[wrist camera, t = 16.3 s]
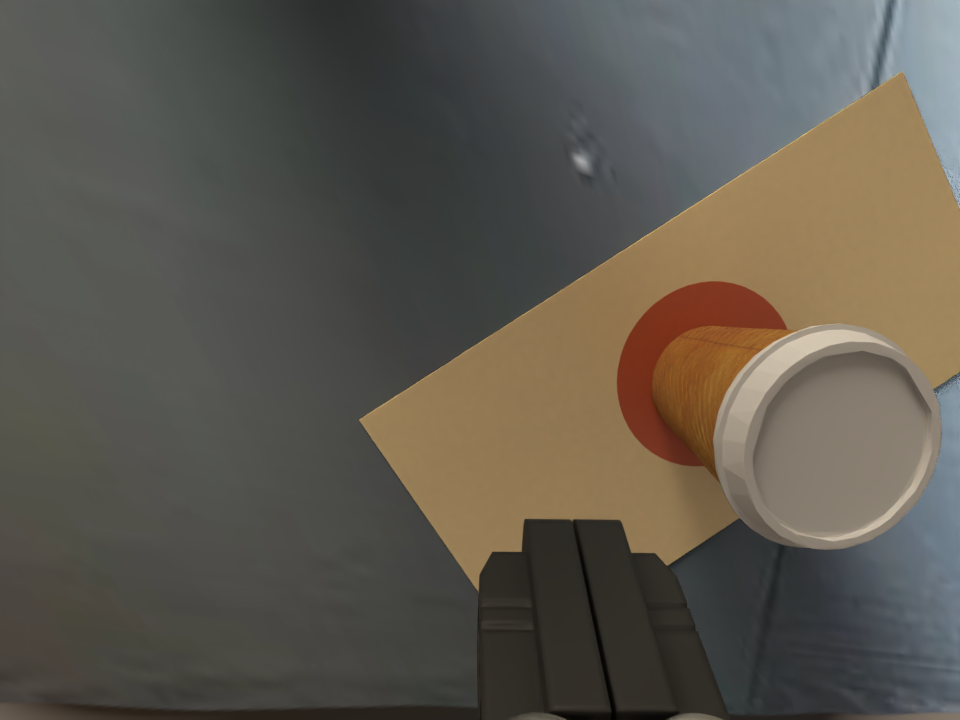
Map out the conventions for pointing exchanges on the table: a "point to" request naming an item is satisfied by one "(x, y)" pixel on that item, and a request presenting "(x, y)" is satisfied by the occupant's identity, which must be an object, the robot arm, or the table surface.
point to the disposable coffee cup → (804, 427)
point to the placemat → (665, 316)
